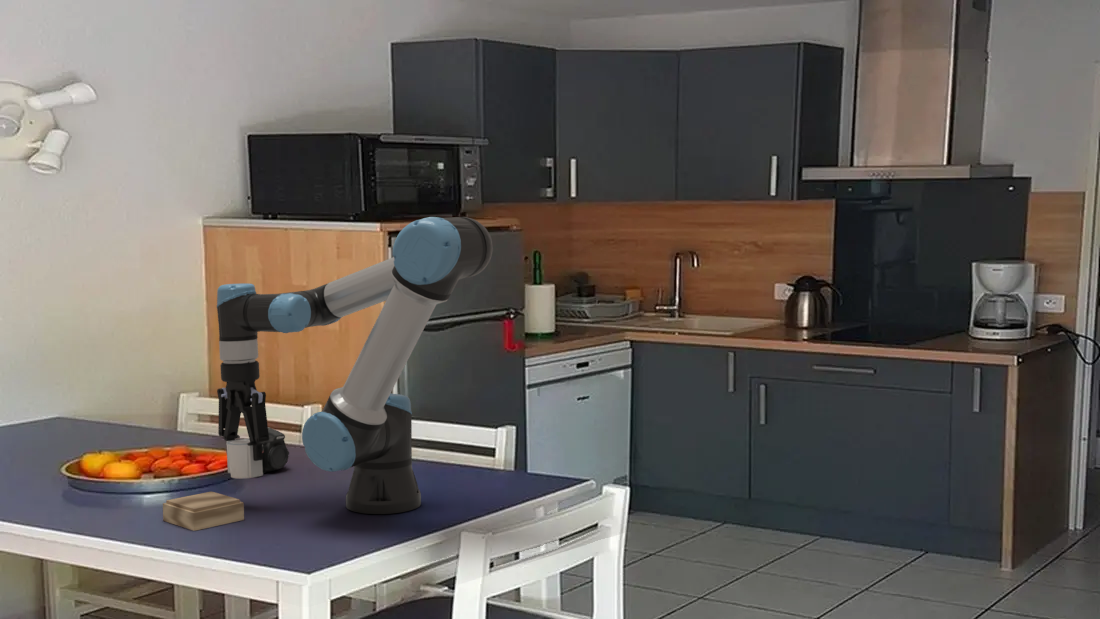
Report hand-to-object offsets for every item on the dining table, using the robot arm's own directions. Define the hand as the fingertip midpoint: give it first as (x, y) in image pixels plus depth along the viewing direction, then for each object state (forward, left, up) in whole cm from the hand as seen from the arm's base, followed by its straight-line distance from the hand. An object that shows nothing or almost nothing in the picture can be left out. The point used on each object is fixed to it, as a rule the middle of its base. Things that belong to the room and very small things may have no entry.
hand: (245, 473), depth 256 cm
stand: (-2, +11, -7) cm, 13 cm away
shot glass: (0, 0, -1) cm, 1 cm away
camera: (+25, -22, -7) cm, 34 cm away
